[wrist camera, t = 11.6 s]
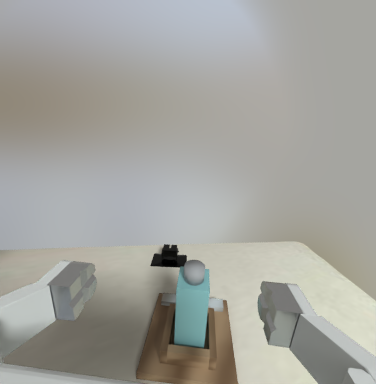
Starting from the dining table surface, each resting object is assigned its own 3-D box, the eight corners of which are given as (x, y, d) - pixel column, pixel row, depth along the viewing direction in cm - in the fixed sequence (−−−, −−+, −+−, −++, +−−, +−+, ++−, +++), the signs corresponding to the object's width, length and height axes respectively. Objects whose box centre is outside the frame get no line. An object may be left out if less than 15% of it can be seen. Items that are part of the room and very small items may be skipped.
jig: (136, 378, 26) (135, 359, 25) (159, 297, 40) (159, 283, 39) (237, 392, 26) (240, 373, 25) (225, 305, 39) (227, 290, 38)
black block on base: (191, 255, 56) (192, 242, 55) (192, 272, 49) (193, 257, 48) (150, 253, 56) (150, 239, 55) (144, 269, 49) (144, 254, 48)
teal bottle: (173, 351, 29) (177, 275, 25) (177, 324, 33) (181, 255, 29) (203, 355, 29) (210, 279, 25) (203, 327, 33) (209, 258, 29)
